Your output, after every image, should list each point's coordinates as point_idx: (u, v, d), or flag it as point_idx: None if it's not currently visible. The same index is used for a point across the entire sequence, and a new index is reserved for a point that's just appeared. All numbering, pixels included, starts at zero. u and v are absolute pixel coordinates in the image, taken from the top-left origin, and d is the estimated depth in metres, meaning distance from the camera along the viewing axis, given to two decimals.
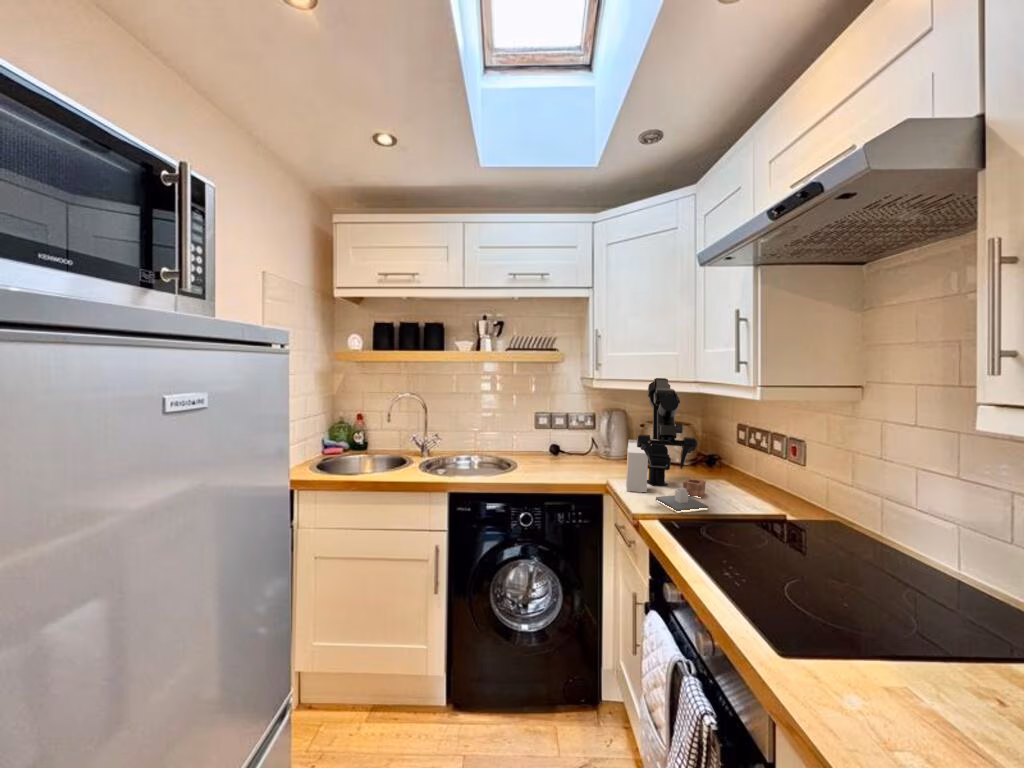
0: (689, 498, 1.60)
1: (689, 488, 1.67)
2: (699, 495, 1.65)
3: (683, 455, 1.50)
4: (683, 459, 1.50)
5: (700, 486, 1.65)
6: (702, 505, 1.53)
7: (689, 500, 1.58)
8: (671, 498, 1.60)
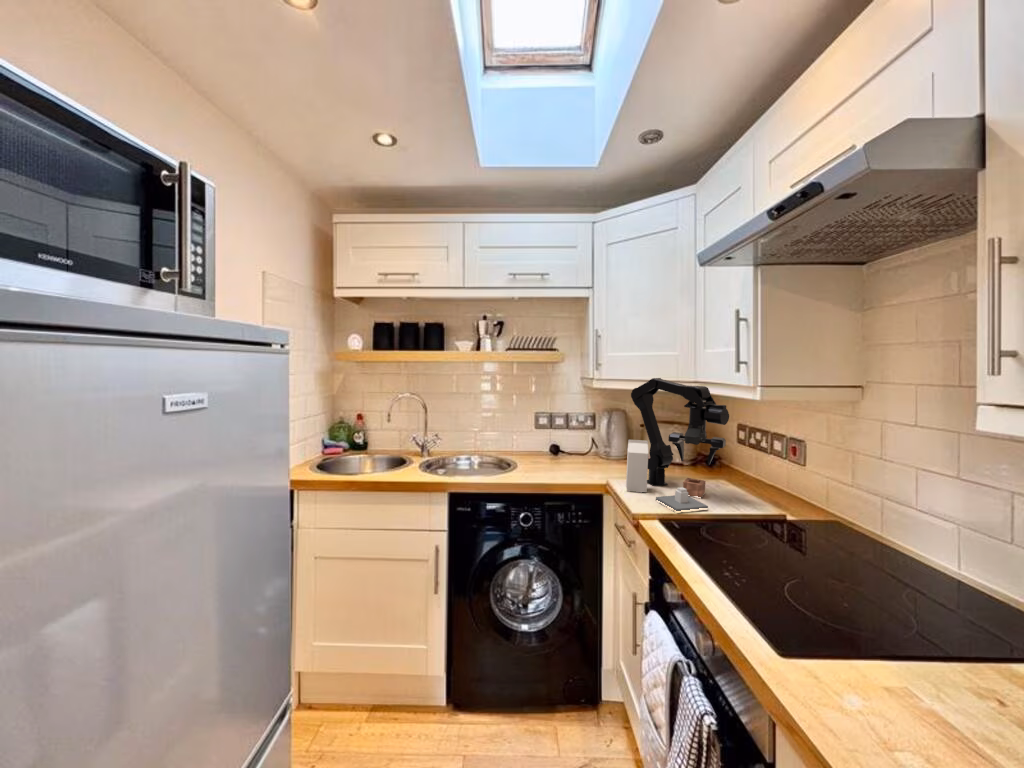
0: (689, 498, 1.60)
1: (689, 488, 1.67)
2: (699, 495, 1.65)
3: (710, 455, 1.64)
4: (710, 458, 1.64)
5: (700, 486, 1.65)
6: (702, 505, 1.53)
7: (689, 500, 1.58)
8: (671, 498, 1.60)
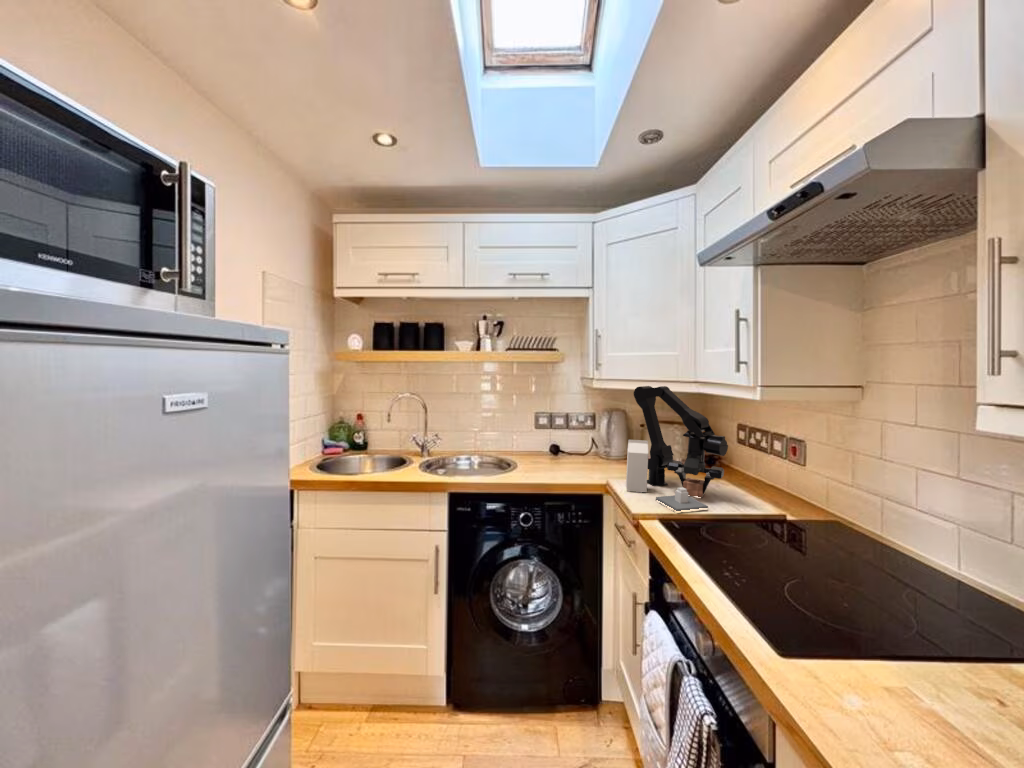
0: (689, 498, 1.60)
1: (689, 488, 1.67)
2: (699, 495, 1.65)
3: (705, 484, 1.66)
4: (705, 487, 1.66)
5: (700, 486, 1.65)
6: (702, 505, 1.53)
7: (689, 500, 1.58)
8: (671, 498, 1.60)
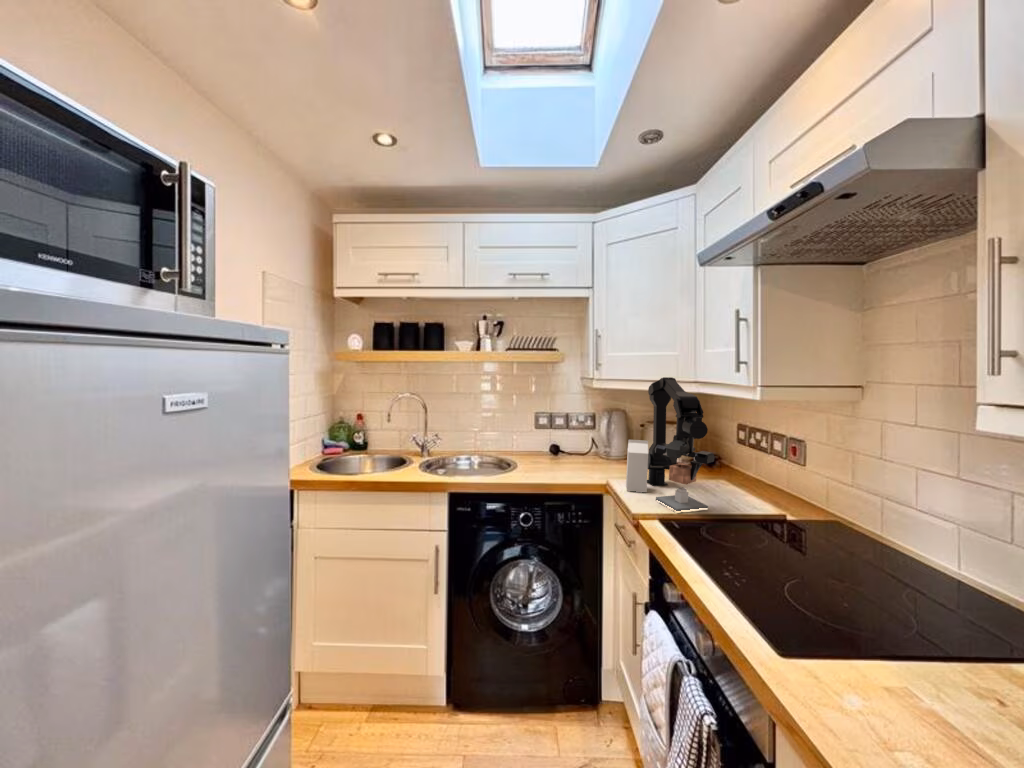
0: (689, 498, 1.60)
1: (675, 472, 1.55)
2: (685, 481, 1.53)
3: (692, 469, 1.52)
4: (692, 473, 1.53)
5: (686, 471, 1.52)
6: (702, 505, 1.53)
7: (689, 500, 1.58)
8: (671, 498, 1.60)
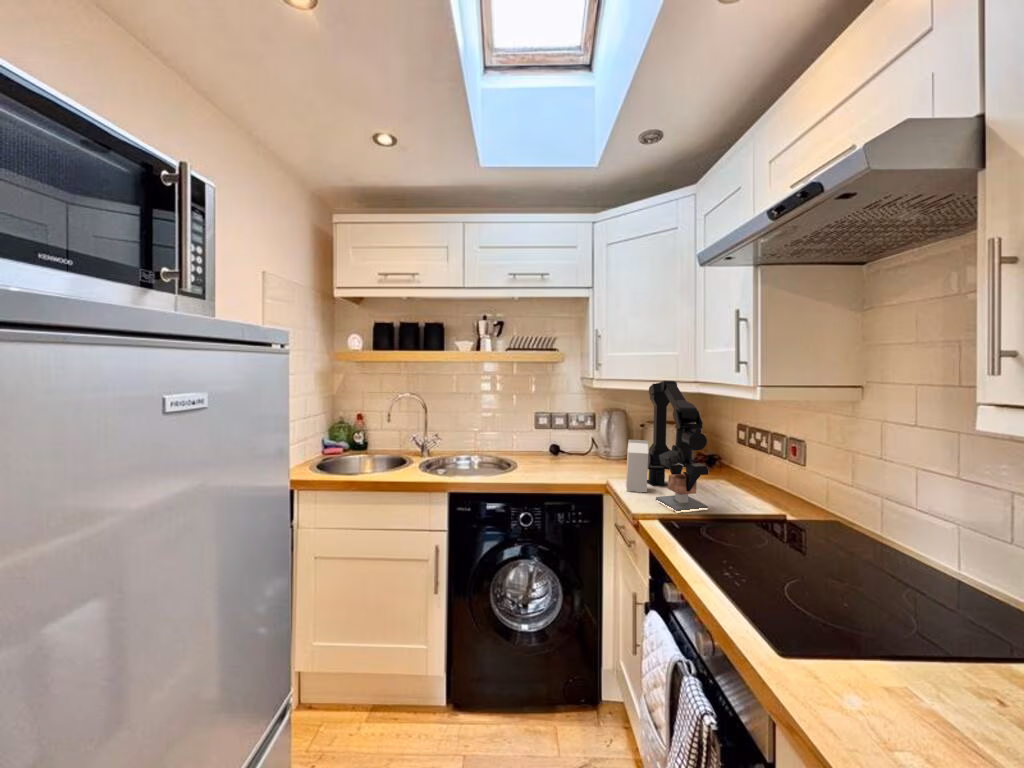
0: (689, 498, 1.60)
1: (672, 482, 1.57)
2: (678, 491, 1.54)
3: (686, 480, 1.52)
4: (687, 484, 1.53)
5: (679, 481, 1.53)
6: (702, 505, 1.53)
7: (689, 500, 1.58)
8: (671, 498, 1.60)
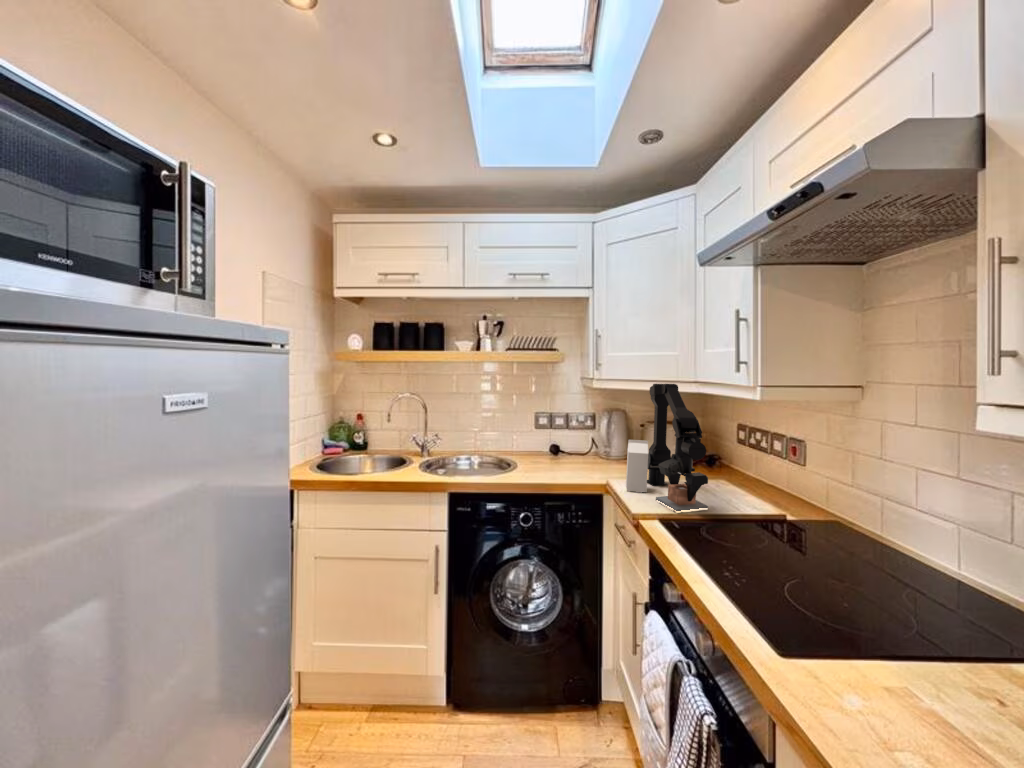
0: None
1: (672, 492, 1.57)
2: (678, 501, 1.54)
3: (688, 490, 1.52)
4: (688, 494, 1.52)
5: (679, 492, 1.53)
6: (702, 505, 1.53)
7: None
8: None
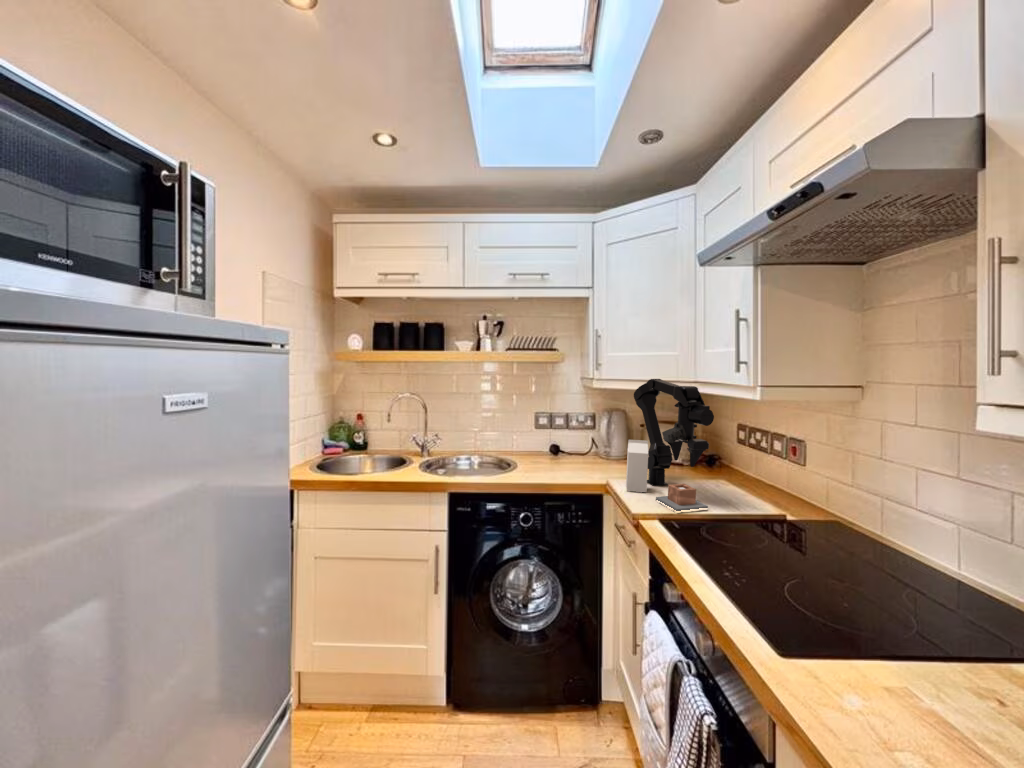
0: None
1: (672, 492, 1.57)
2: (678, 501, 1.54)
3: (690, 456, 1.61)
4: (691, 459, 1.61)
5: (679, 492, 1.53)
6: (702, 505, 1.53)
7: None
8: None
